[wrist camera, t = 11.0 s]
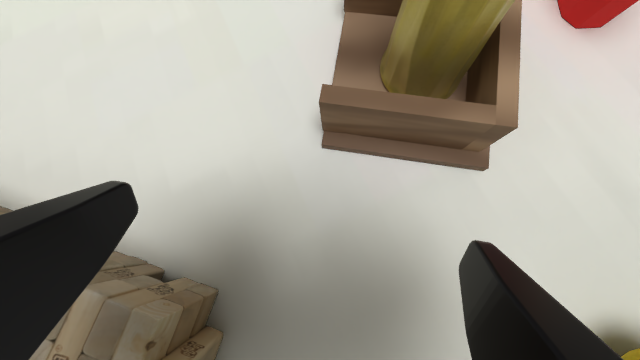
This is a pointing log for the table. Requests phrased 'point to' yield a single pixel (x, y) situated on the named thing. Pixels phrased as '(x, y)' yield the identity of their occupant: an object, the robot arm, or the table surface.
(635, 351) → the lemon
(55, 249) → the robot arm
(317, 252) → the table surface
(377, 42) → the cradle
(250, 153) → the table surface
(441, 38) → the vase
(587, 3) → the french fries
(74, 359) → the block tower
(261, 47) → the table surface
